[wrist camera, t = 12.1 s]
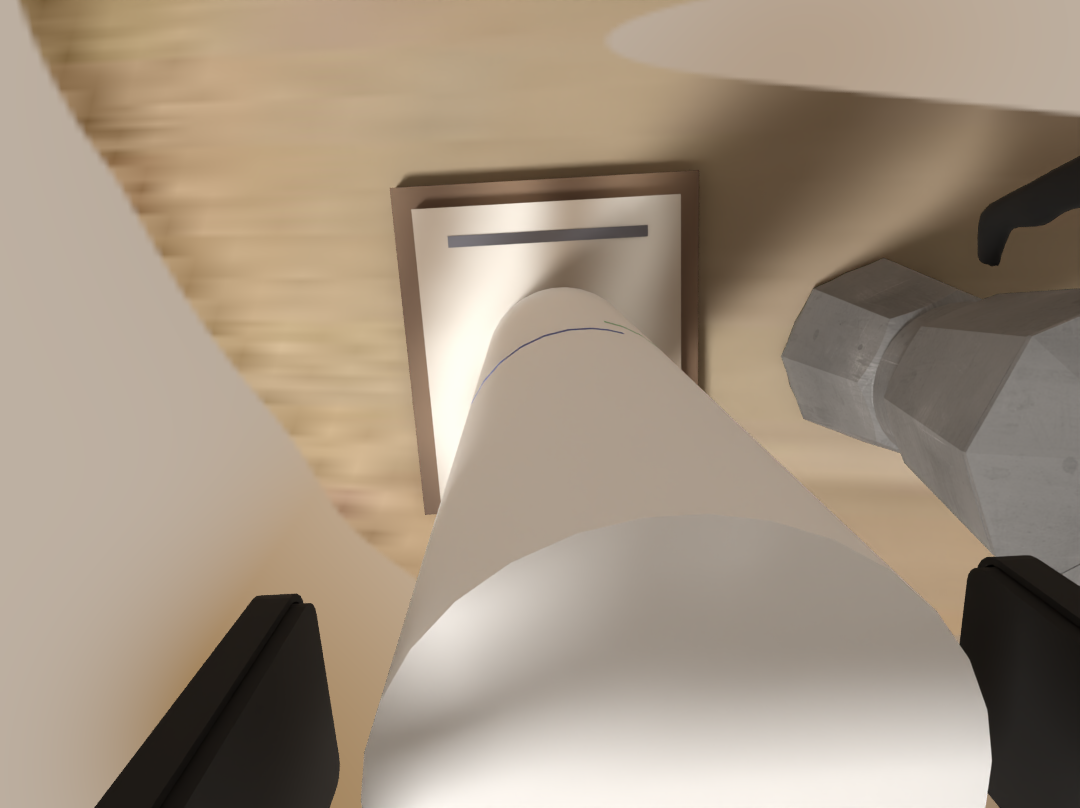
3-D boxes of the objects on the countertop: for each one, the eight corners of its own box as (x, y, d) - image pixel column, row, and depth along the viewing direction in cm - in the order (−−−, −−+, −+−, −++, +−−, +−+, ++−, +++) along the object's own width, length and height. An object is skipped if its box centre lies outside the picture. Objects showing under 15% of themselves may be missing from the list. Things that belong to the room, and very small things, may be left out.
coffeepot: (946, 472, 36) (1347, 709, 18) (769, 478, 35) (1002, 722, 18) (989, 164, 32) (1554, 90, 14) (789, 169, 32) (1113, 102, 14)
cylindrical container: (487, 284, 31) (348, 505, 7) (643, 289, 31) (1057, 522, 7) (485, 433, 33) (370, 1030, 8) (632, 437, 33) (928, 1032, 9)
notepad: (693, 171, 31) (703, 168, 30) (692, 491, 36) (701, 505, 34) (394, 189, 31) (385, 186, 30) (427, 506, 35) (422, 521, 34)
